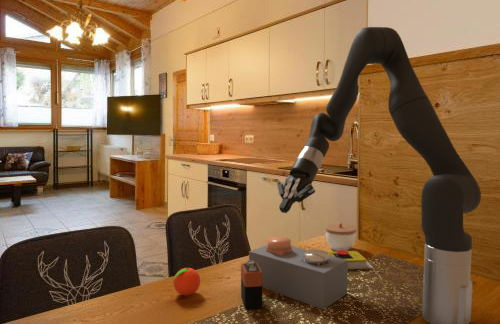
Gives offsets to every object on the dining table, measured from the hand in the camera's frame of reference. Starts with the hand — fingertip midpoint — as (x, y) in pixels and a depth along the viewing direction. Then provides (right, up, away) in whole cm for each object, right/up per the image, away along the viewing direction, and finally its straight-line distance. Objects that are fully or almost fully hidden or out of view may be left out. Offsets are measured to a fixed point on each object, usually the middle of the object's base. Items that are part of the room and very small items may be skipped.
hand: (282, 211), depth 106 cm
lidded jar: (+24, -18, +31) cm, 43 cm away
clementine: (-26, -21, -8) cm, 34 cm away
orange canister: (-1, -17, 0) cm, 17 cm away
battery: (-9, -21, -13) cm, 26 cm away
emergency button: (+22, -20, +15) cm, 33 cm away
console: (+3, -20, -4) cm, 21 cm away
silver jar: (+8, -19, -8) cm, 22 cm away
